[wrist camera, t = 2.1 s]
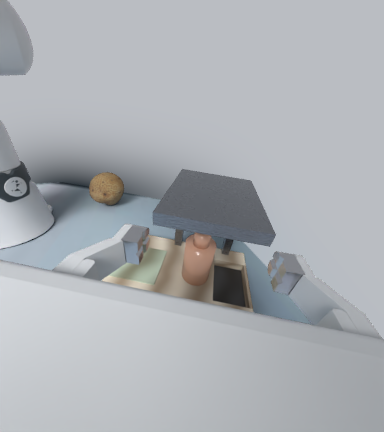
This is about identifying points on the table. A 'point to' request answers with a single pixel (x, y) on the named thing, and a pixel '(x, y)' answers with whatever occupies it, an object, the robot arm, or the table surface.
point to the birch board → (173, 281)
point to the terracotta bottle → (198, 258)
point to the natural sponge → (106, 188)
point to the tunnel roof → (214, 209)
